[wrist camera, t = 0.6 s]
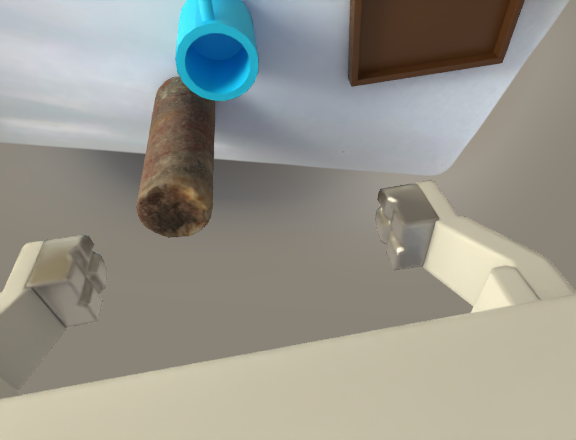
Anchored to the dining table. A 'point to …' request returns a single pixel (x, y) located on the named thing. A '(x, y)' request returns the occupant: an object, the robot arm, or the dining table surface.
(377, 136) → the dining table surface
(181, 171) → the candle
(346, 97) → the dining table surface
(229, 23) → the mug
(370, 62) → the serving tray
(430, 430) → the robot arm
